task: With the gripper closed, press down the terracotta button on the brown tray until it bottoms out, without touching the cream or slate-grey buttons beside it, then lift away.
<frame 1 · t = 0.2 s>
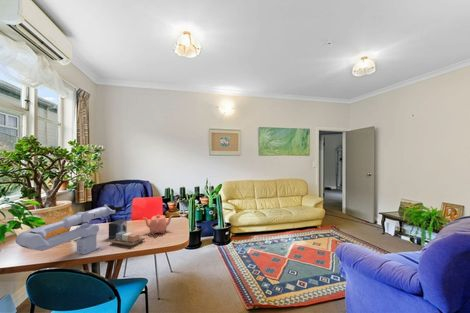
hand: (117, 207, 145), 21 cm above the table, tool horizontal, fingers open, 7 cm apart
button terracotta: (133, 237, 134), point 4 cm above the table, slide at 0.0 cm
button slate: (121, 235, 138), point 4 cm above the table, slide at 0.0 cm
teapot: (158, 232, 155), on the table
button cream: (127, 236, 136), point 4 cm above the table, slide at 0.0 cm
brown tray: (127, 243, 136), on the table
small box: (118, 236, 148), on the table
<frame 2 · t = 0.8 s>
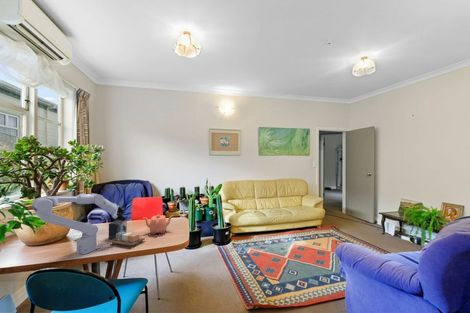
hand: (124, 216, 144), 15 cm above the table, tool tilted 50°, fingers open, 7 cm apart
nothing on the table moved.
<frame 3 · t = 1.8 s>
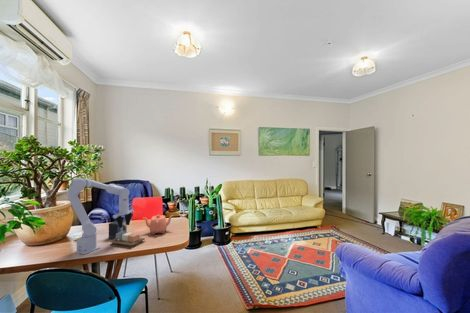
hand: (124, 226, 139), 10 cm above the table, tool pointing down, fingers open, 5 cm apart
nothing on the table moved.
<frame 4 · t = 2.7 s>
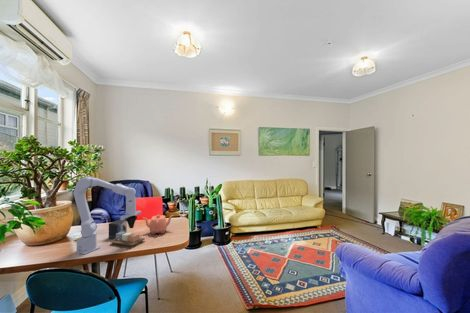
hand: (131, 227, 135), 10 cm above the table, tool pointing down, fingers closed
nothing on the table moved.
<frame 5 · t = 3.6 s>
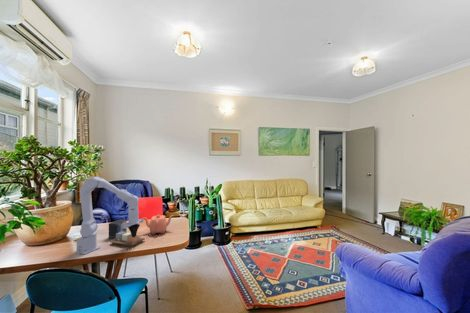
hand: (133, 236, 134), 5 cm above the table, tool pointing down, fingers closed, pressing on button terracotta
button terracotta: (133, 239, 134), point 3 cm above the table, slide at 0.9 cm, touching gripper
everything else where it was.
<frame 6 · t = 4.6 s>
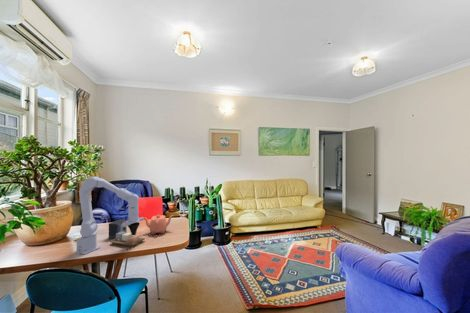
hand: (133, 234, 134), 6 cm above the table, tool pointing down, fingers closed
button terracotta: (133, 240, 134), point 2 cm above the table, slide at 2.0 cm
everything else where it was.
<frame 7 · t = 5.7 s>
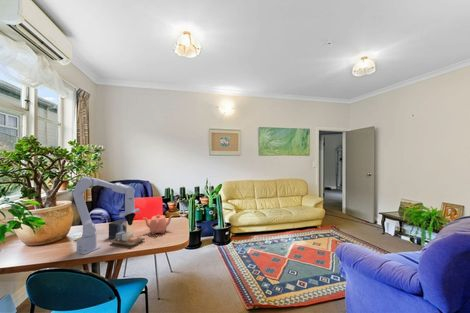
hand: (130, 224, 140), 10 cm above the table, tool pointing down, fingers closed
nothing on the table moved.
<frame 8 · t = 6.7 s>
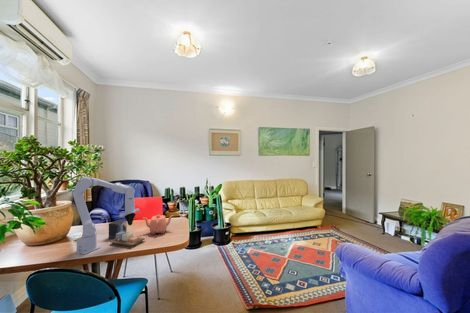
hand: (130, 224, 140), 10 cm above the table, tool pointing down, fingers closed
nothing on the table moved.
at the end: button terracotta slide at 2.0 cm; button cream slide at 0.0 cm; button slate slide at 0.0 cm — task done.
